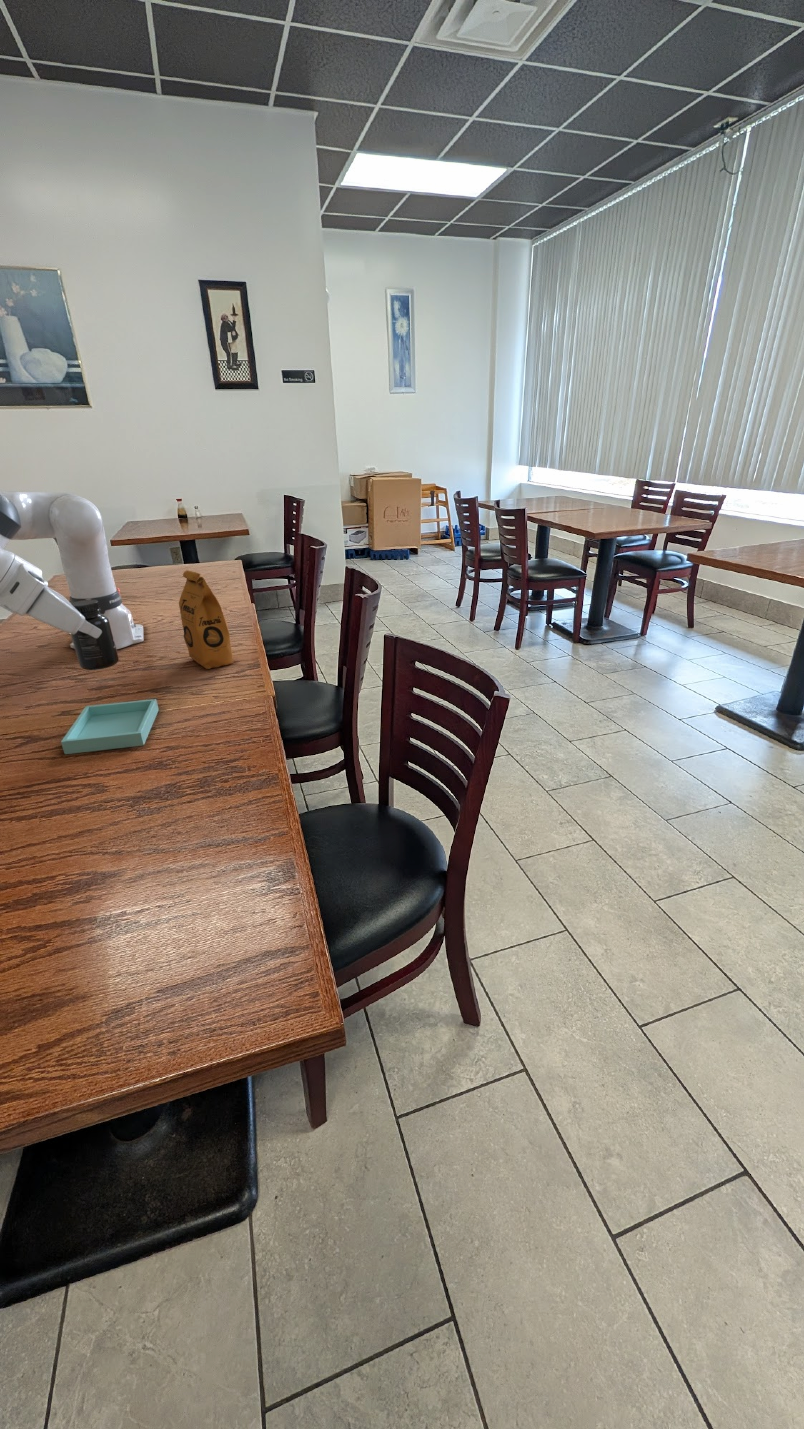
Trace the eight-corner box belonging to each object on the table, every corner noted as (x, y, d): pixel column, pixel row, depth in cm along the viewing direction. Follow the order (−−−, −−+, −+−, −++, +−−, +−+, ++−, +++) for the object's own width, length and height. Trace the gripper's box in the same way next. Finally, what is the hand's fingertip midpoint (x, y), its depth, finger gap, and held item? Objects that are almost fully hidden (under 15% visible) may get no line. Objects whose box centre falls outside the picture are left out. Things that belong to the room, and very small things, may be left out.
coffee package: (198, 673, 140) (180, 581, 130) (185, 658, 149) (167, 571, 140) (239, 663, 145) (224, 574, 135) (224, 650, 154) (209, 566, 144)
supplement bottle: (127, 660, 113) (112, 599, 108) (100, 672, 107) (83, 608, 102) (99, 656, 115) (83, 596, 110) (71, 669, 110) (53, 606, 104)
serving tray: (89, 717, 119) (85, 705, 118) (158, 710, 122) (156, 698, 120) (64, 754, 106) (60, 741, 104) (143, 745, 108) (140, 732, 107)
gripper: (-1, 590, 107) (73, 630, 116) (13, 613, 92) (96, 657, 101) (20, 561, 107) (91, 604, 117) (37, 580, 92) (117, 627, 102)
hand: (94, 629), depth 109 cm, fingers closed on supplement bottle, 7 cm apart
